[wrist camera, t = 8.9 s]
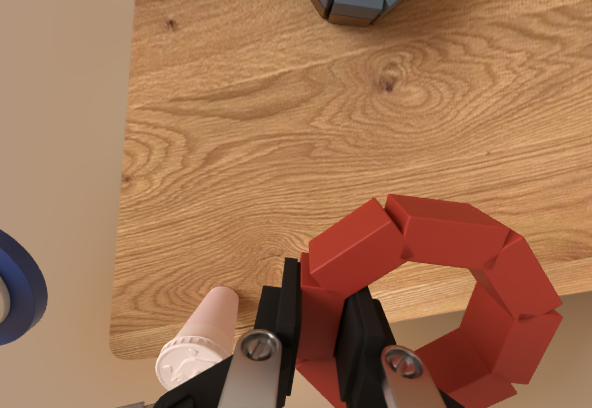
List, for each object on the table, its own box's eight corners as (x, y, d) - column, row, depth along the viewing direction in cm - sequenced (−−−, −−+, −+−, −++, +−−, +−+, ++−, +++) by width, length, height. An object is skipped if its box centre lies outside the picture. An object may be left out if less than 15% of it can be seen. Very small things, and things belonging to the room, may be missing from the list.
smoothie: (261, 308, 33) (233, 441, 20) (217, 330, 35) (164, 470, 21) (229, 266, 32) (175, 382, 18) (183, 291, 33) (103, 417, 20)
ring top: (285, 363, 14) (281, 413, 12) (311, 183, 11) (313, 203, 9) (469, 385, 14) (500, 438, 12) (544, 212, 11) (605, 239, 9)
